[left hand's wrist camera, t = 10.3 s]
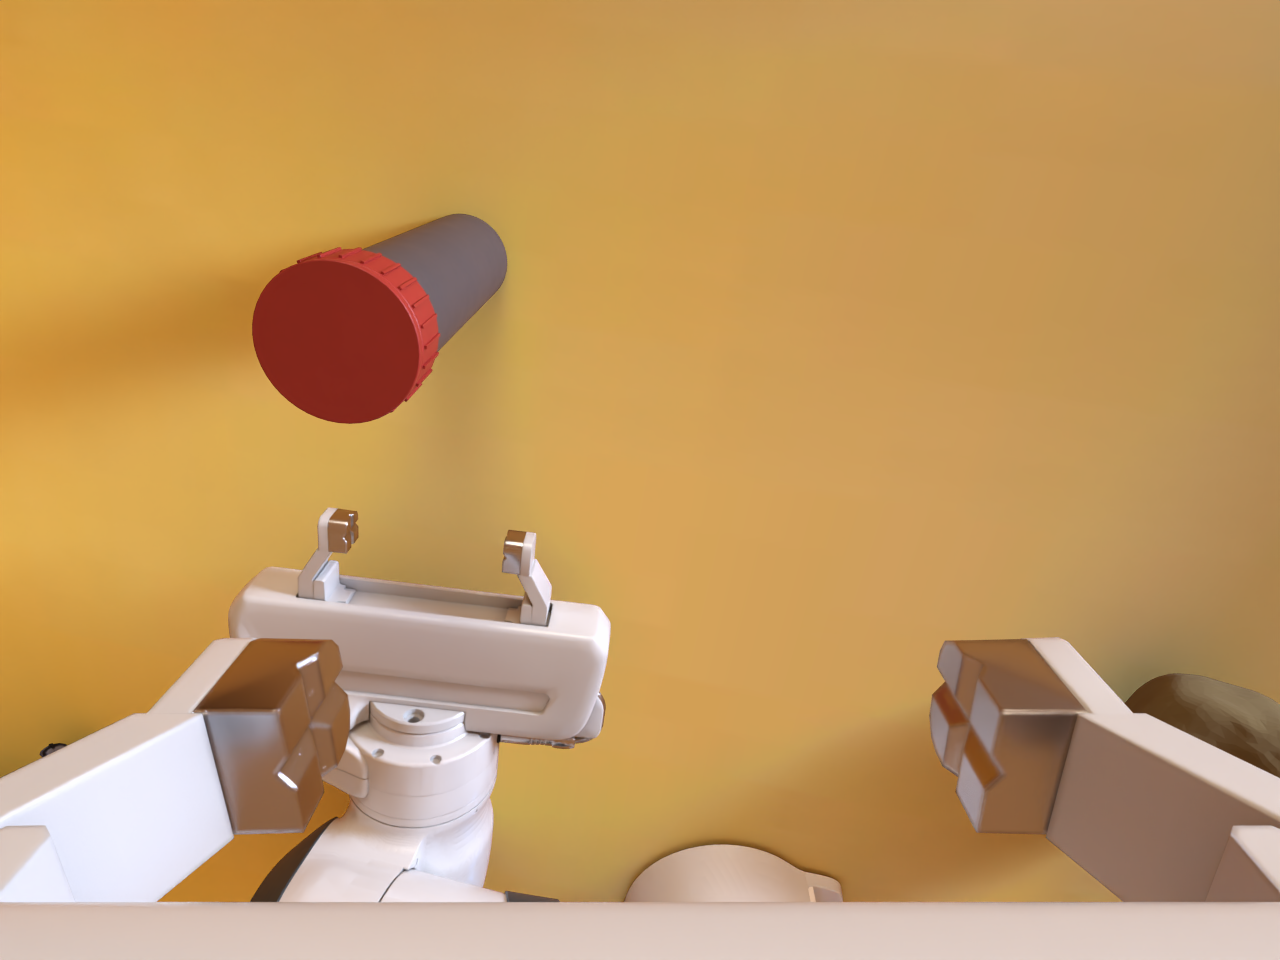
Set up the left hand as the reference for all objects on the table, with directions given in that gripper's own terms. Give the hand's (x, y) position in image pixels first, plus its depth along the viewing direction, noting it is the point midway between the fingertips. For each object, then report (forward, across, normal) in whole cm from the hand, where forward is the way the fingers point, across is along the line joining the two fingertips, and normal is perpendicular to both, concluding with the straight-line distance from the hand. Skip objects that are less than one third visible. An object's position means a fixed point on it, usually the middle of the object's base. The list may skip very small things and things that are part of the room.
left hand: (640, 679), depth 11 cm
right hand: (+28, +11, +11) cm, 32 cm away
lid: (+15, +9, -2) cm, 18 cm away
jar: (+32, +9, -2) cm, 34 cm away
